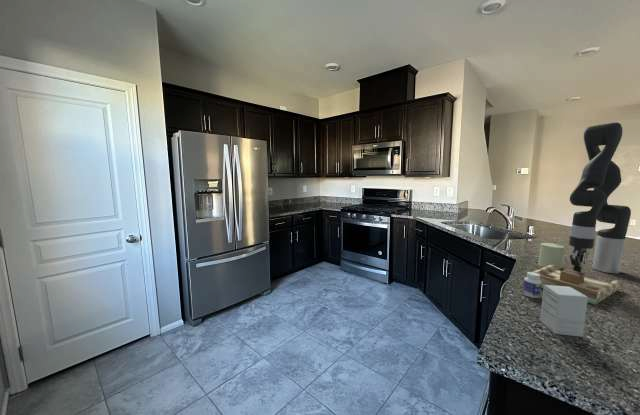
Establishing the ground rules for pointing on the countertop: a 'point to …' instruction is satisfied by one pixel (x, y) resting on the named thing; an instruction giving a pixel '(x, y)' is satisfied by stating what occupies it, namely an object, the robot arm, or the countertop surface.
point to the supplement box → (563, 310)
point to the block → (572, 276)
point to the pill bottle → (532, 285)
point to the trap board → (589, 287)
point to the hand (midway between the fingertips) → (576, 274)
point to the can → (551, 255)
